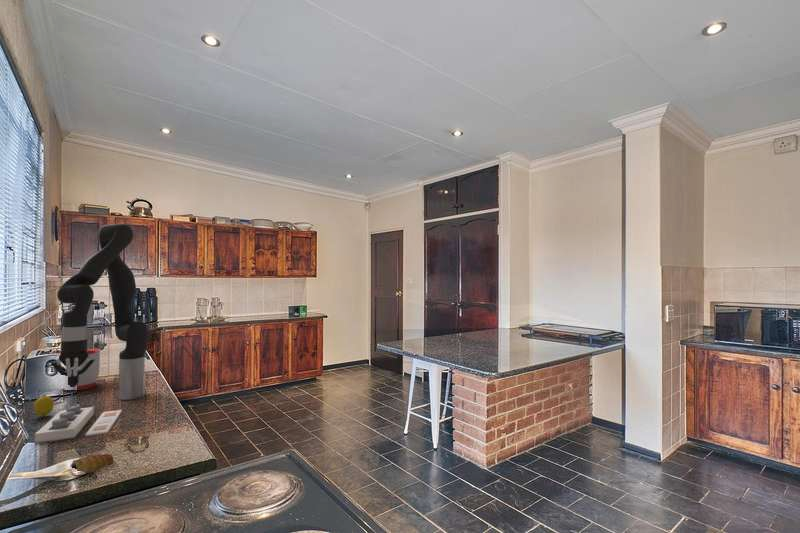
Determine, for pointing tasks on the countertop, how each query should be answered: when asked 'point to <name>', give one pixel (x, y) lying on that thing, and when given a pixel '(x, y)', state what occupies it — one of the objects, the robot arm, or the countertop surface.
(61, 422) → the button near
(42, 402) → the lemon
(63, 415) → the button middle
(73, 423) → the button panel
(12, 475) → the countertop surface
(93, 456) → the pastry
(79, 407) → the button far
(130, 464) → the countertop surface
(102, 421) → the pattern card
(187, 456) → the countertop surface
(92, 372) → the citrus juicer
